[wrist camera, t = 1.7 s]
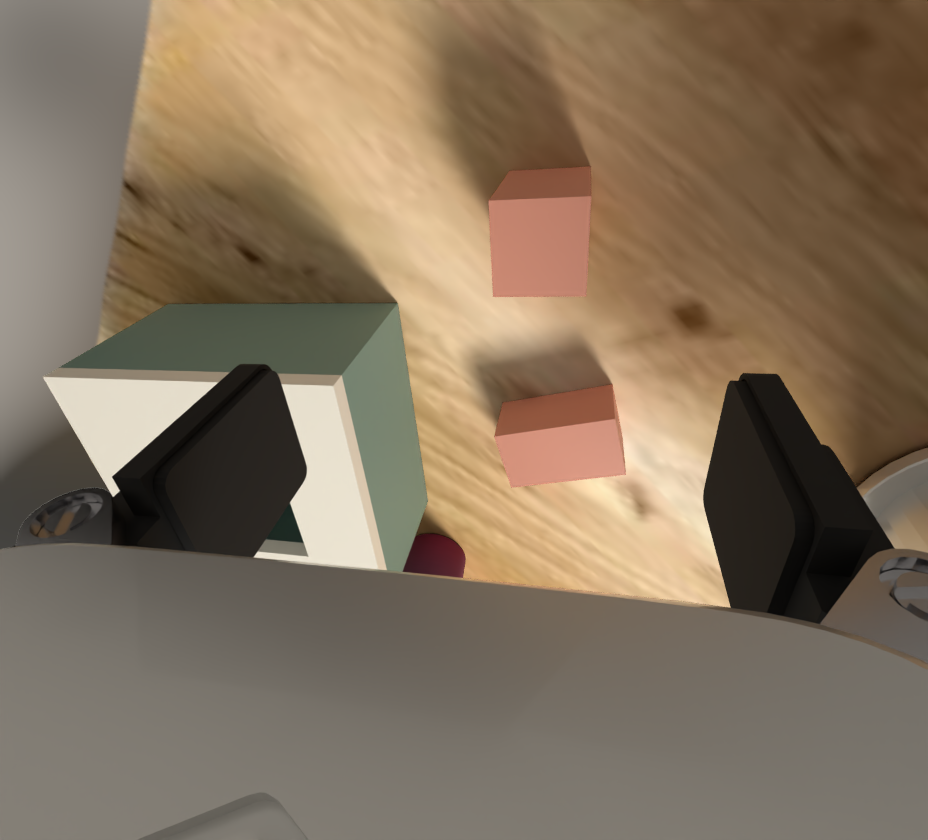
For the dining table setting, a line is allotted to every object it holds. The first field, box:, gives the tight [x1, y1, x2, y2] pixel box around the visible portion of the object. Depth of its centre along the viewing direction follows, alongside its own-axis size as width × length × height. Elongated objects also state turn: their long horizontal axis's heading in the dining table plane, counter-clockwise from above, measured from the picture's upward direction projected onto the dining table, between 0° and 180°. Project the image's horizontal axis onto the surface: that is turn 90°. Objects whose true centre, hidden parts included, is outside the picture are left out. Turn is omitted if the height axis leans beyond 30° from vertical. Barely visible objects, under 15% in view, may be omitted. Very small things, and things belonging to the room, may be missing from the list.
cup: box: [402, 534, 465, 578], centre depth 38 cm, size 7×7×15 cm
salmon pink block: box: [489, 166, 591, 297], centre depth 25 cm, size 4×4×7 cm
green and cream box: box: [43, 303, 428, 572], centre depth 34 cm, size 16×16×10 cm
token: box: [494, 384, 626, 488], centre depth 33 cm, size 7×4×4 cm, turn 108°
